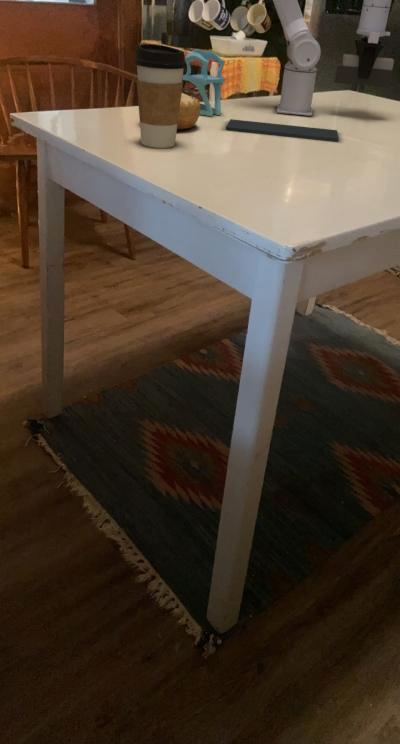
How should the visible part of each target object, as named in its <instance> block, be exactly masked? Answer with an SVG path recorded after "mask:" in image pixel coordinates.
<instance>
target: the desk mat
mask: <svg viewBox="0 0 400 744" xmlns="http://www.w3.org/2000/svg"><path fill="white" fill-rule="evenodd" d="M225 131H231V132H232V131H233V132H242V133H251V134H260V135H268V136H269V135H270V136H279V137H289V138H297V139H298V138H299V139H307V140H309V139H310V140H317V141H326V142H327V141H328V142H337V143H338V142H339V140H340V138H339V132H338V129H328V128H321V127H312V126H311V127H310V126H301V125H291V124H282V123H271V122H261V121H253V120H252V121H251V120H242V119H233V118H231V119H229V120H228V122H227V125H226V126H225Z"/></svg>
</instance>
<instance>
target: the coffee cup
mask: <svg viewBox="0 0 400 744" xmlns="http://www.w3.org/2000/svg"><path fill="white" fill-rule="evenodd" d="M185 57H186V56H185V51H183V50H181V49H178V48H174V47H171V46H168V45H163V44H156V43H155V44H154V43H141V44H137V48H136V55H135V57H134V65H135V66H136V70H137V72H136V73H137V78H136V87H137V88H136V90H137V102H138V103H137V104H138V115H139V116H138V117H139V127H140V130H139V131H140V143H141V144H142V145H143V146H145V147H149V148H155V149H169V148H173V147H174V146H176V139H177V131H178V129H177V123H178V117H179V109H180V102H181V95H182V93H183V86H184V80H182V79H183V75H184V69H187V64H186V59H185Z"/></svg>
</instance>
